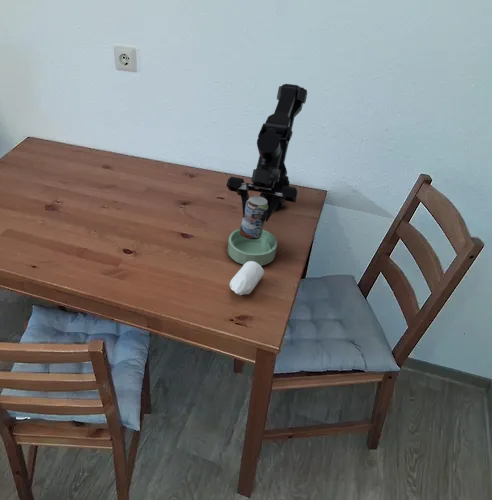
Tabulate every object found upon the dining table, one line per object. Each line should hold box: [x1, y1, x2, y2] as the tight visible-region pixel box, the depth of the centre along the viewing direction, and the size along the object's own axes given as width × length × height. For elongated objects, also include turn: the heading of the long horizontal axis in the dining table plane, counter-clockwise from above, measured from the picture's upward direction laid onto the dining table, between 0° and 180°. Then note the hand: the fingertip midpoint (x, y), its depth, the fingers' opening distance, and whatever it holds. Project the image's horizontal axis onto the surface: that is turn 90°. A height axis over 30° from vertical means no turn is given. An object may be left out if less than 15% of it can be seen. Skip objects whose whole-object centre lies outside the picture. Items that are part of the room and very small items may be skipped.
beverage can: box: [239, 195, 268, 240], centre depth 148 cm, size 6×7×12 cm
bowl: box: [227, 228, 278, 267], centre depth 154 cm, size 13×13×4 cm
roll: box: [229, 261, 265, 296], centre depth 141 cm, size 6×12×6 cm, turn 147°
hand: (254, 219), depth 147 cm, fingers closed on beverage can, 6 cm apart
